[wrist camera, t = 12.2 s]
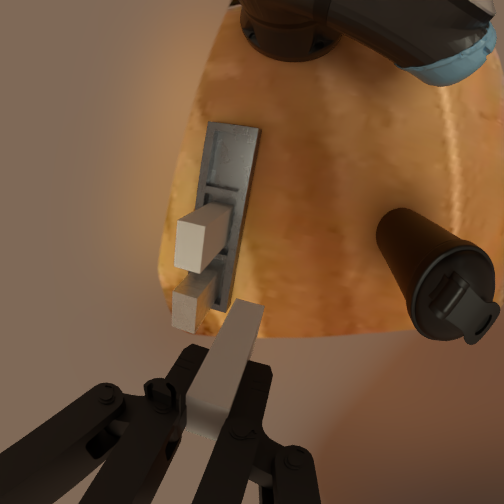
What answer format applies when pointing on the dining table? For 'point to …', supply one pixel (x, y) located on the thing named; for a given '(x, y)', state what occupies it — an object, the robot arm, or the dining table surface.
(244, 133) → the rack
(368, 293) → the dining table surface
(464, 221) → the dining table surface
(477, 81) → the dining table surface
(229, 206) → the block
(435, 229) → the water bottle
